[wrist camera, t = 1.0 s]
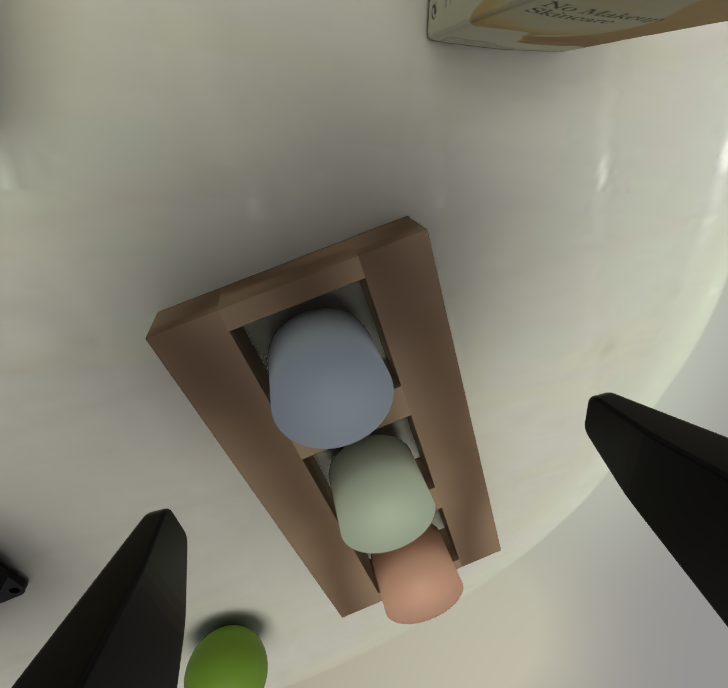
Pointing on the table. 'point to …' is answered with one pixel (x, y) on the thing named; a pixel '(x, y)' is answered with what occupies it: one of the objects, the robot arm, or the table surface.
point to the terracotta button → (417, 579)
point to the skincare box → (564, 21)
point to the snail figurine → (228, 660)
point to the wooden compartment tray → (411, 399)
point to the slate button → (327, 380)
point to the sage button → (379, 495)
